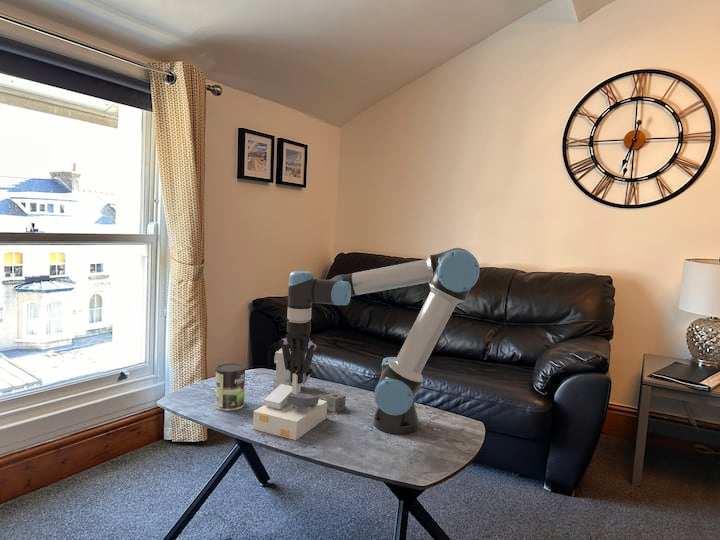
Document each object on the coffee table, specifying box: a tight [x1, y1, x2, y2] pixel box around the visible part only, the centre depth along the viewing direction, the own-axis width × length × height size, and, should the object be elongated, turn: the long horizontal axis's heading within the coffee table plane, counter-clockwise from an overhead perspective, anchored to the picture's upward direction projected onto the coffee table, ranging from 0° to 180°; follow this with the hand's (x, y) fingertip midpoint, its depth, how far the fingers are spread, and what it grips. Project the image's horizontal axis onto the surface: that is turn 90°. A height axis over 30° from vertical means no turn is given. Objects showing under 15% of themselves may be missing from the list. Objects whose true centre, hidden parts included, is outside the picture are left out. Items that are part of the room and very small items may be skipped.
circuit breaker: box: [272, 347, 314, 390], centre depth 197 cm, size 8×14×15 cm, turn 78°
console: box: [252, 398, 328, 441], centre depth 164 cm, size 16×20×7 cm
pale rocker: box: [263, 384, 295, 410], centre depth 164 cm, size 6×10×2 cm, turn 156°
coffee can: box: [214, 362, 246, 412], centre depth 176 cm, size 10×10×14 cm
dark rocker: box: [287, 393, 320, 407], centre depth 162 cm, size 6×10×2 cm, turn 156°
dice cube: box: [325, 391, 347, 414], centre depth 179 cm, size 5×5×5 cm
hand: (296, 392), depth 158 cm, fingers closed
